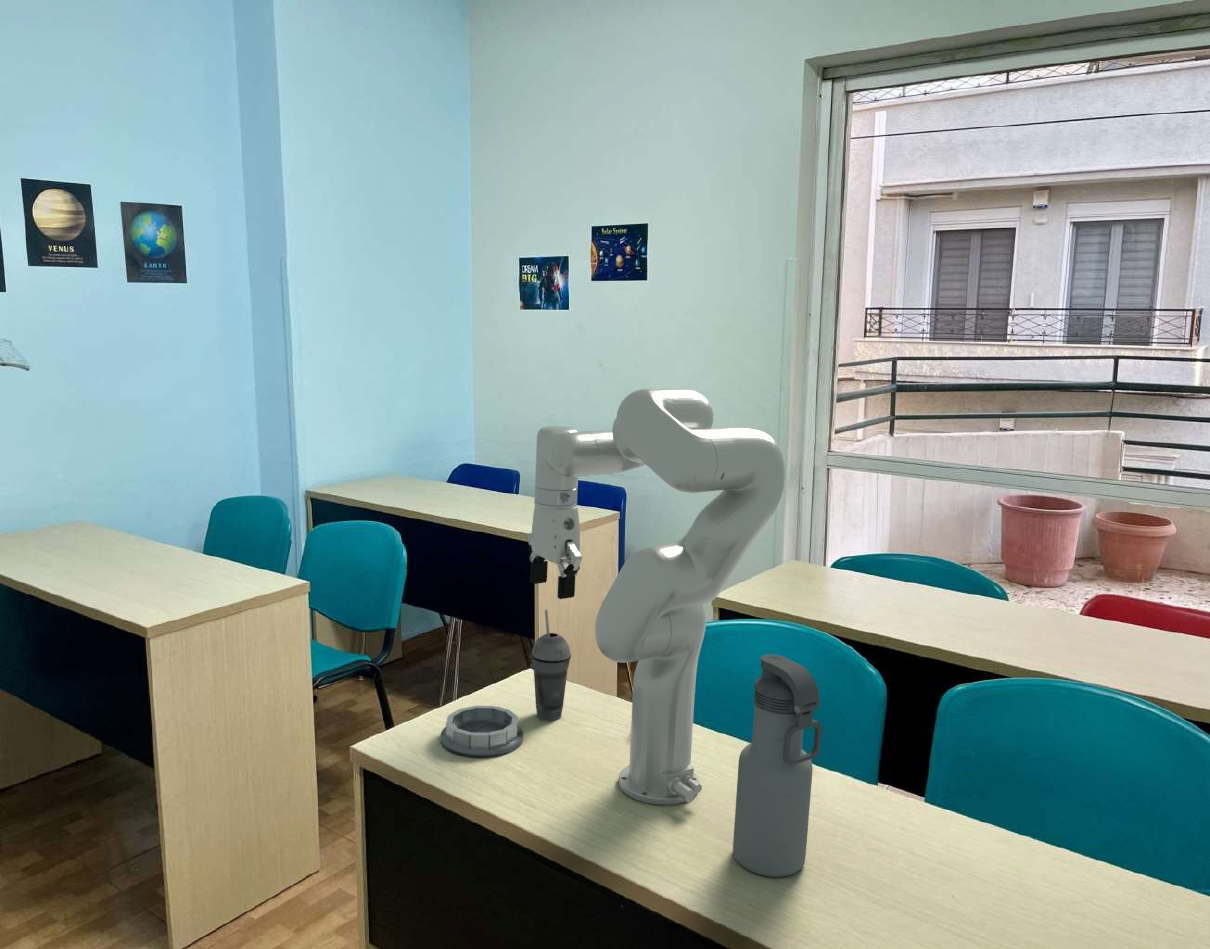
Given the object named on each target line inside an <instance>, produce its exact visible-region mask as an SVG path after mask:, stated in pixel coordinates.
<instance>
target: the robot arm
mask: <svg viewBox="0 0 1210 949" xmlns="http://www.w3.org/2000/svg"><path fill="white" fill-rule="evenodd" d="M713 410H714V409H713V407H712V405H711V403H710V401H709V400H708V399H707V398H706V397H705V396H704V395H702V394H701V393H699V392H698V391H696V390H693V389H687V388H645V389H644V388H643V389H637V390H635V391H633V392H630V394H628V395H626V396H625V398H624V399H622V401H621V403H620V404H619V405H618V409H617V412H616V417H615V419H614V421H613V423H612V424H613V425H612V429H611V430H609V429H608V430H586V431H578V430H577V429H576V428H574V427H570V426H562V425H550V426H549V425H548V426H542V427H541V428H540V429H539V430H538V431H537V434H536V449H535V450H536V451H535V452H536V455H535V475H534V476H535V478H534V480H535V482H534V500H533V502H534V503H533V504H534V509H533V515H532V523H531V532H530V533H528V534H527V541H528V545H529V546H528V551H529V554H530V556H529V560H530V562H531V563H530V577H529V578H530V579H529V580H530V581H529V582H530V584H532V585H538V584H543V583H544V584H545V583H547V581H548V566H549V565H548V564H549V563H548V562H551V563H553V564H556V565H557V569H558V570H559V571H558V572H559V576H557V599H559V600H564V599H570V598H574V597H575V595H576V594H575V592H576V577H577V576H578V572H579V571H580V568H581V563H582V561H583V556H582V554H581V553H580V552H581V530H580V529H581V528H580V526H581V525H580V515H579V508H578V507H577V505H578V487H579V484H578V483H579V477H589V476H600V475H601V476H602V475H613V474H619V473H624V472H627V471H630V470H633V469H637V468H640V467H644V466H647V467H648V468H649V469H650V470H652V472H654V473H655V475H657V476H658V477H659V478H660V479H661V480H662V481H663V482H664V483H666V484H667V485H668V486H669V487H671V488H673V489H674V490H677V491H679V492H682V493H692V494H695V493H705V492H714V491H715V492H717V491H721V492H720V493H719V494H718V495H717V496H716V497H714V499H712V500H711V501H710V502H708V503H707V504H706V505H705V506H703V508H702V509H701V510H700V512H698V514H697V516H696V517H695V519H694V520H693V523H692V524H691V526H690V528H689V529H688V530H687V533H685V535H684V536H683V537H682V538H681V539H679V540H677V541H674V542H671V543H665V544H664V543H663V544H658V545H652V546H647V547H644V548H641V549H639V550H638V551H636V552H634V553H633V554H632V555H631V556H629V557H628V559H627V560H626V561H625V562H624V564H623V565H622V567H621V569H620V571H619V572H618V574H617V576H616V578H615V579H614V581H613V582H612V585H611V586H610V588H609V590H608V592H607V594H606V596H605V598H604V599H603V601H602V603H601V605H600V607H599V610H598V612H597V614H596V619H595V624H594V636H595V640H596V644H597V647H598V649H599V651H600V653H602V654H603V655H604V657H606V658H607V659H608V660H611V661H613V662H616V663H623V664H624V663H626V664H627V663H631V662H637V664H636V667H635V671H634V676H633V685H632V701H631V702H632V703H631V708H632V709H631V723H630V724H631V726H630V742H629V743H630V746H629V765H627V766H626V767H624V768H623V769H622V770H621V771H620V772H619V775H618V786H619V788H620V789H621V791H622V792H623V793H625V795H627V796H629V797H630V798H632V799H634V800H637V801H639V802H642V803H646V804H651V805H658V806H659V805H661V806H662V805H666V806H668V805H676V804H680V803H681V804H682V803H684V802H686V803H691V802H693V800H694V799H695V797H696V795H697V794H699V793H700V792H701V791H702V790H703V788H702V786H703V785H701V784H700V779H699V776H697V774H696V773H695V772H694V770H695V767H694V766H693V765H692V764H691V762H692V746H693V726H694V711H695V694H696V680H697V670H698V662H699V657H700V652H701V648H702V644H703V641H704V637H705V632H706V626H707V625H706V624H707V621H706V612H705V608H704V606H703V605H706V604H708V603H711V602H713V601H714V600H715V599H716V598H717V597H718V596H719V595H720V594H721V592H722V590H723V589H724V588H725V586H726V584H727V583H728V581H729V580H730V578H731V577H732V576H733V574H734V572H736V571H735V570H737V568H738V566H739V564H740V563H741V562H742V560H743V559H744V557H745V555H746V554H747V552H748V550H749V549H750V546H752V544H753V542H754V540H756V538H757V537H758V536H759V534H760V533H761V532H762V530H763V529H764V527H765V526H766V525H767V524H768V522H769V520H770V519H771V518H772V517H773V515H774V513H775V512H776V509H777V508H778V506H779V504H780V501H781V499H782V496H783V492H784V488H785V480H786V470H785V469H786V468H785V462H784V456H783V454H782V451H781V448H780V446H779V444H778V443H777V442H776V440H775V439H774V438H773V437H772V436H771V435H770V434H768V433H767V432H764V431H762V430H758V429H754V428H749V427H719V428H718V427H716V428H712V426H713V425H714V424H713V423H714V411H713ZM565 565H567V567H565Z"/></svg>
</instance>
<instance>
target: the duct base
mask: <svg viewBox="0 0 1210 949" xmlns="http://www.w3.org/2000/svg"><path fill="white" fill-rule="evenodd" d="M518 724H519V716H518V715H517V714H515V713H514V712H513V711H512V710H511V709H508V708H503V707H499V706H496V705H472V706H468V707H467V706H466V707H462V708H459V709H457V710H455V711H454V712H452V713H450V714H448V715H447V718H446V722H445V727H443V729H442V730H441V733H440V744H441V746H442V747H443V749H445V750H446V751H448V752H449V753H451V754H453V755H457V756H460V757H465V758H470V759H471V758H472V759H475V758H476V759H486V758H495V757H500V756H504V755H508V754H510V753H512V752H514V751H515V750H517V749H518V748H519V747H520V746H521V745H522V743H523V741H524V732H523V729H522V727H520V726H519V725H518Z"/></svg>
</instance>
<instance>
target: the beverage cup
mask: <svg viewBox="0 0 1210 949" xmlns="http://www.w3.org/2000/svg"><path fill="white" fill-rule="evenodd" d="M544 615H545V616H544V617H545V627H546V633H544V634H543V635H541V636H540V637H538V639H536V641H535V642H534V644H533V647H532V650H531V655H530V657H531V663H532V667H533V679H534V681H533V682H534V696H535V708H536V709H535V710H536V717H537V719H539V720H541V721H545V722H554V721H558V720H560V719H561V718H562V713H563V708H564V703H565V702H564V701H565V695H566V694H565V692H566V685H567V677H568V676H567V675H568V669H569V667H570V666H569V665H570V661H571V659H572V655H571V649H570V645H569V642H568V641H567V640H566V638H565V637H564V636H562V635H560V634H558V633H554V632H550V624H549V612H548V609H544Z"/></svg>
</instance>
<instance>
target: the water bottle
mask: <svg viewBox="0 0 1210 949" xmlns="http://www.w3.org/2000/svg"><path fill="white" fill-rule="evenodd" d="M760 668H761V670H762V672H761V677H759V678H758V679H756V680H755V682H754V684H753V688H754V691H753V692H754V694H753V696H754V699H753V701H752V704H753V705H752V706H754V713H753V725H752V726H753V727H752V742H750V743H749V744H747V745H746V746H745V747H744V748H743V749H742V750H741V751H740V754H739V758H738V766H737V768H738V769H737V779H736V780H737V783H736V797H735V811H734V825H733V826H734V828H733V839H732V840H733V841H732V842H733V843H732V852H733V856H734V857H735V860H736V861H737V862H738V864H740V865H741V866H742V867H743V868H745V869H746V870H748V871H749V872H752V873H754V874H758V875H761V876H764V877H771V878H772V877H773V878H782V877H789V876H792V875H795V874H796V873H798V872H799V871H800V870H801V869H802V868H803V866H804V865H805V861H806V858H807V857H806V856H807V847H808V846H807V844H808V832H809V830H808V829H809V819H810V806H811V794H812V793H811V792H812V784H813V783H812V782H813V781H812V780H813V770H814V769H813V763H812V760H813V759H816V757H818V755H819V753H820V750H821V743H822V742H821V740H822V730H823V729H822V728H823V727H822V724H821V723H820V721H817V720H815V719H813V716H814V711H815V710H818V709H819V708H820V692H819V688H818V685H817V682H816V681H815V679H814V677H813V676H812V674H811V672H810V671H809V670H808V669H807V668H806V667H804V666H803V665H801V663H797V662H796V661H793V660H791V659H788V658H787V657H785V656H783V655H778V654H772V653H771V654H763V655H762V656H760ZM813 727H814V737H813V738H814V740H813V747H812V748H811V750H810V751H809V752H808V753H807V751H805V750H804V749H803V737H804V736H803V735H804V730H805V729H807V728H813Z"/></svg>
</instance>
